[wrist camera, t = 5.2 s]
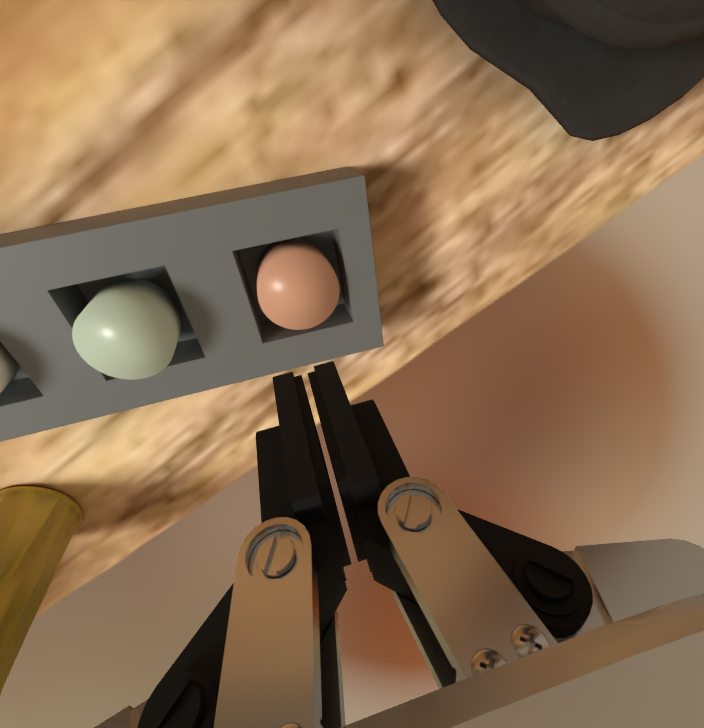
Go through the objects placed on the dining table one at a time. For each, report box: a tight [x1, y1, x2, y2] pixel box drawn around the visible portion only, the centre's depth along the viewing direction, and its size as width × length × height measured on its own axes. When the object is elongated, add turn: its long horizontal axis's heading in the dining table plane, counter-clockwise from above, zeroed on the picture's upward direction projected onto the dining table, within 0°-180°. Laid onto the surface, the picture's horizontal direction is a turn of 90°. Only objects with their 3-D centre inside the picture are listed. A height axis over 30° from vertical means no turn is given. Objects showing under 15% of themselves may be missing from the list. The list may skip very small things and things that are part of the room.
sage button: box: [72, 278, 183, 380], centre depth 18 cm, size 4×4×3 cm
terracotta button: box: [256, 238, 340, 330], centre depth 20 cm, size 4×4×3 cm
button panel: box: [0, 167, 384, 441], centre depth 20 cm, size 9×24×4 cm, turn 98°
